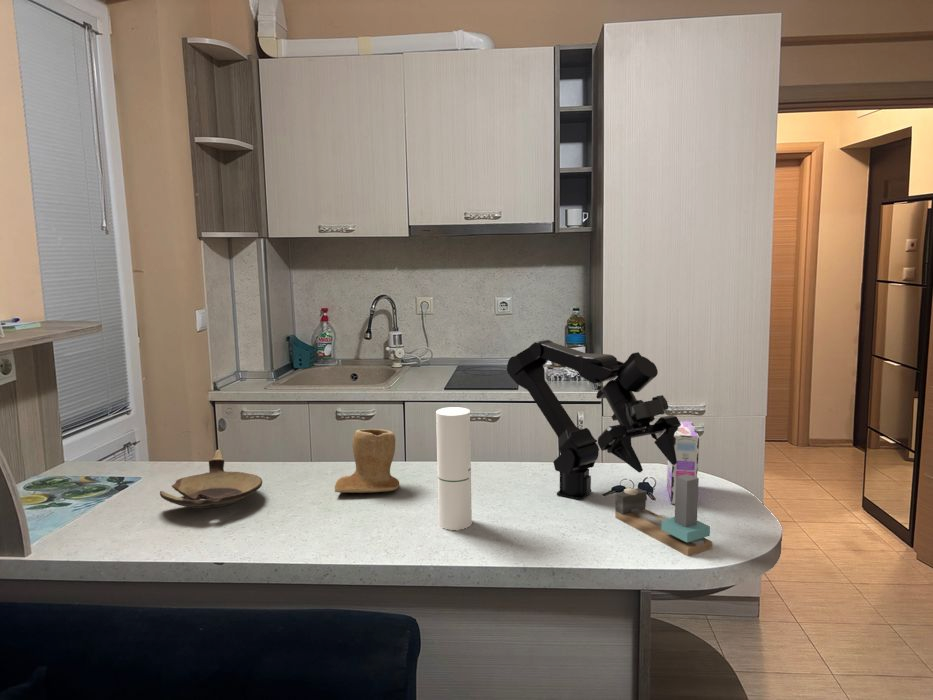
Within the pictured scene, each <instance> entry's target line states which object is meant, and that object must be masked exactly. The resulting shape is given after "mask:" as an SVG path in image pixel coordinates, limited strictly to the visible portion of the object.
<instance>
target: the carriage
mask: <svg viewBox="0 0 933 700" xmlns="http://www.w3.org/2000/svg"><path fill="white" fill-rule="evenodd" d="M699 479H700V478H699V477H698V476H697V477H694V476H692V475H689V474H685V475H680V476H676V493H675V504H674V516H671V517H669V518H665V519H664V520H662V526H661V530H663V531H665V532H667V533H669V534H671V535H673V536H675V537H677V538H679V539H681V540H683V541H685V542H691V541H694V540H698V539H701V538H708V537H710V536H711V535H710V534H711V527H710V525H708V524H706V523H703V522H702V521H700V520H698V509H699V508H698V504H699V482H700V481H699Z"/></svg>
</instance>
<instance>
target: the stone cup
mask: <svg viewBox="0 0 933 700" xmlns="http://www.w3.org/2000/svg"><path fill="white" fill-rule="evenodd" d="M351 442H352V444H351V445H352V446H351V447H352V453H353V458H354V462H355V471H354V473H352V474H351V475H345V476H341V477H340V478H338V479H337V480H336V482H335V485H334V492H335V493H343V494H346V493H350V494H351V493H352V494H355V493H360V494H363V493H381V492H383V493H385V492H392V491H395V490H398V488H399V486H400V480H399V479H398V478H396V477H394V476H392V475H391V466H392V462H393V460H394V457H395V453H396V435H395V433H394V432H393V431H391V430H387V429H380V428H363V429H357V430H355V431H354V433H353V436H352V441H351Z"/></svg>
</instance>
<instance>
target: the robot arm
mask: <svg viewBox="0 0 933 700" xmlns="http://www.w3.org/2000/svg"><path fill="white" fill-rule="evenodd" d="M548 362H551V363H554V364H557V365H560V366H561V367H562V366H563V367H566V368H568V369H572V370H573V371H575V372H577V373H578V374H579V375H580V377H581V378H583V379H585V380H586V381H588V382H589V383H591V384H598V383H603V382H606V383H605V385H601V386H600V385H599V386H598V390H597V392H596V396H595V397H596V399H606V401H607V402H608V405H609V407H610V408H611V411H612V412H613V414H612V416H611V419H612V421H617V422H618V424H615V425H610V426H607V427H606V428H605V429H604V431H603V432H602V433H601V434H600V435H599V436H598V437H597V439H596V438H595V437H594V436H593V434H592V433H591V430H590V429H589V428H588V427H585V428H579V427H578V426H576V425H575V423H574V422H573V420H572V418H571V417H570V416H569V414H568V412H567V411H566V410H565V408H564V406H563V405H562V403H561V402H560V401H559V399H558V397H557V396H556V394H555V393H554V392H553V389H551V387H550V385H549V384H548V382H547V380H546V376H545V372H546V371H545V367H544V366H545V365H546V364H547V363H548ZM506 372H507V374H508V375H509V377H510V378H511V380H513V381H514V383H515V384H517V385H518V386H520V387H521V388H523V389H525V390H526V391H528V394H530V396H531V398H532V399H533V401H534V402H535V404H536V405H537V407H538V408H539V410H540V411H541V413H542V415H543V416H544V418H545V419H546V421H547V423H548V424H549V426H550V427H551V428H552V430H553V432H554V433H555V435H556V437H557V438H558V440H557V441H558V442H557V443H558V450H559V453H560V454H559V455H558V456H557V458H555V459H554V460H553V467H554V470H555V471H556V472H559V490H558V491H557V492H556V496H561V497H566V498H571V499H575V500H583V499H585V498H586V497H587V496H588V495H589V494H591V493H592V489H591V488H592V485H591V484H592V476H591V475H590V468H594V467H595V464H596V461H598V458H599V453H600V452H599V451H600V450H601V451H602V452H603V451H606V452H607V453H608V454H612V455H614V456H615V457H617V458H619V459H620V460H621V461H623V462H624V463H626V464H627V465H629V467H631V468H632V469H634V470H635V471H636V472H637V473H642V472H643V471H644V470H643V467H642V463H641V461H640V459H639V458H638V455H637V453H636V452H635V449H634V448H633V446H632V439H633V438H639V437H643V436H649V435H650V436H651V438H652V439H654V442H653V443H654V444H655V446H657V448H658V449H659V451H661V453H662V454H663V455H664V457H665V458H666V459H667V461H668V460H669V462H670V463H671V464H672V465H675V464H676V463H677V460H676V454H675V448H674V434H675V432H676V431H677V430H678V427H679V426H680V425H681V423H680V422H679V421H680V420H679V419H678V416H676V415H673V414H671V415H667V416H661V417H659V418H658V419H657V420H656V422H655V423H653V424H650V423H652V422H654V421H655V419H656V418H655V417H656V416H659V415H665V413H666V412H665V411H666V410H668V409H669V404H668V401H667V399H666V397H664V395H663V394H662V395H661V394H660V395H656V396H653V397H652V398H651V400H648V401H643V399H639V400H638V399H637V398H636V396H635V393H639V392H641V391H642V390H643V389H644V388H645V387H646V386H648V385H649V383H651V381H652V380H654V379H656V377H657V376H658V367H657V366H656V364H655V363H654V362H653V361H651V360H650V359H649V358H647V357H646V356H642V355H641V354H640V352H638V351H637V352H632V353H631V354H630V355H629V356H628V357H627V359H626V360H625V362H622V361H619V360H618V358H617V357H616V356H614V355H613V354H608V353H607V354H606V353H605V354H604V353H590V352H589V353H588V352H587V353H586V352H584V351H581V350H577V349H574V348H571V347H568V346H565V345H562V344H559V343H556V342H553V341H552V340H549V339H544V340H537V341H534V343H532V344H531V345H529V347H527V348H526V349H523V350H522V351H521V352H519V353H517V354H515V355H513V356H511V357H510V358H509V359H508V362H507V365H506Z"/></svg>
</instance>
